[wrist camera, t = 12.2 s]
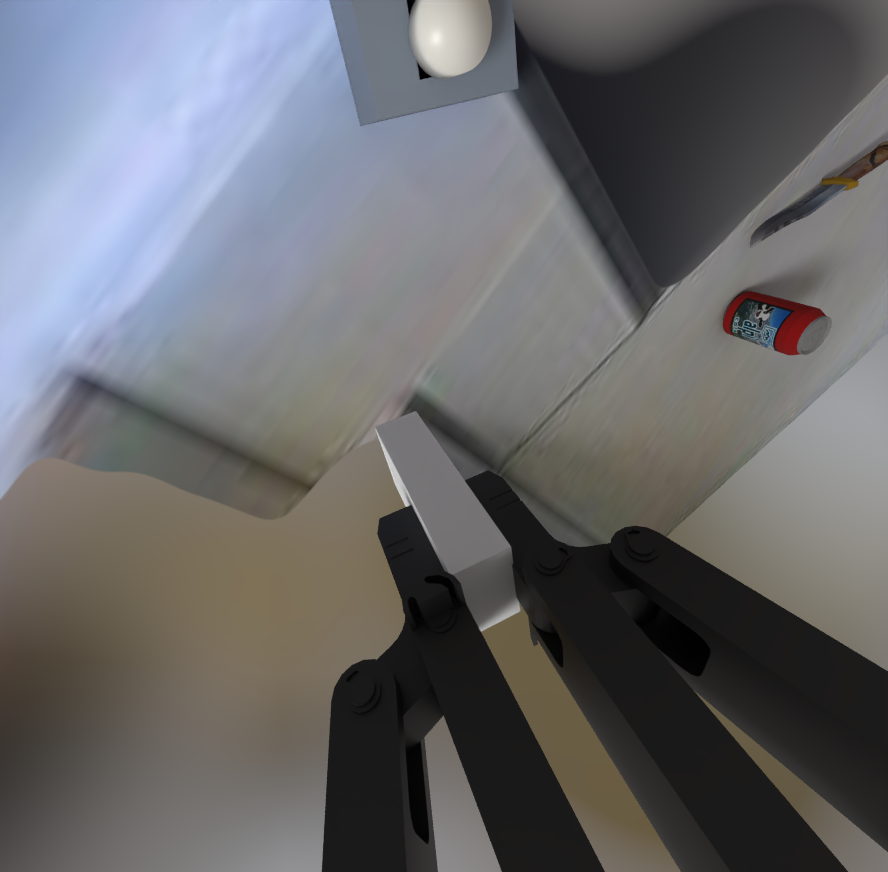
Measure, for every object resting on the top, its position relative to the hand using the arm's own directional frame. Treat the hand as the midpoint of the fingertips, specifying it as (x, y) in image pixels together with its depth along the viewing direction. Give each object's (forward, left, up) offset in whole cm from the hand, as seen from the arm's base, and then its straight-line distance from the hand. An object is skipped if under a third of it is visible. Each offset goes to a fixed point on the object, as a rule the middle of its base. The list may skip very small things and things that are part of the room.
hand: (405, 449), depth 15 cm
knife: (+69, -9, -33) cm, 77 cm away
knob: (+15, +13, -32) cm, 37 cm away
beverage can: (+61, -24, -33) cm, 73 cm away
